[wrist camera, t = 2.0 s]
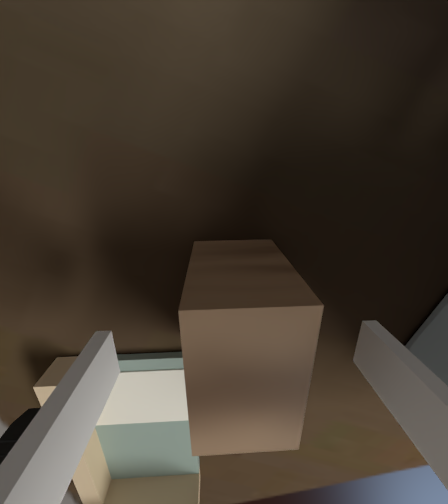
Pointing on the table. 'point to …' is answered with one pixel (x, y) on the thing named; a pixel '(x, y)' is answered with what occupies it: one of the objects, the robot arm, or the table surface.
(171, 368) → the toy stand
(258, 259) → the block
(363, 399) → the table surface
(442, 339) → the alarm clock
